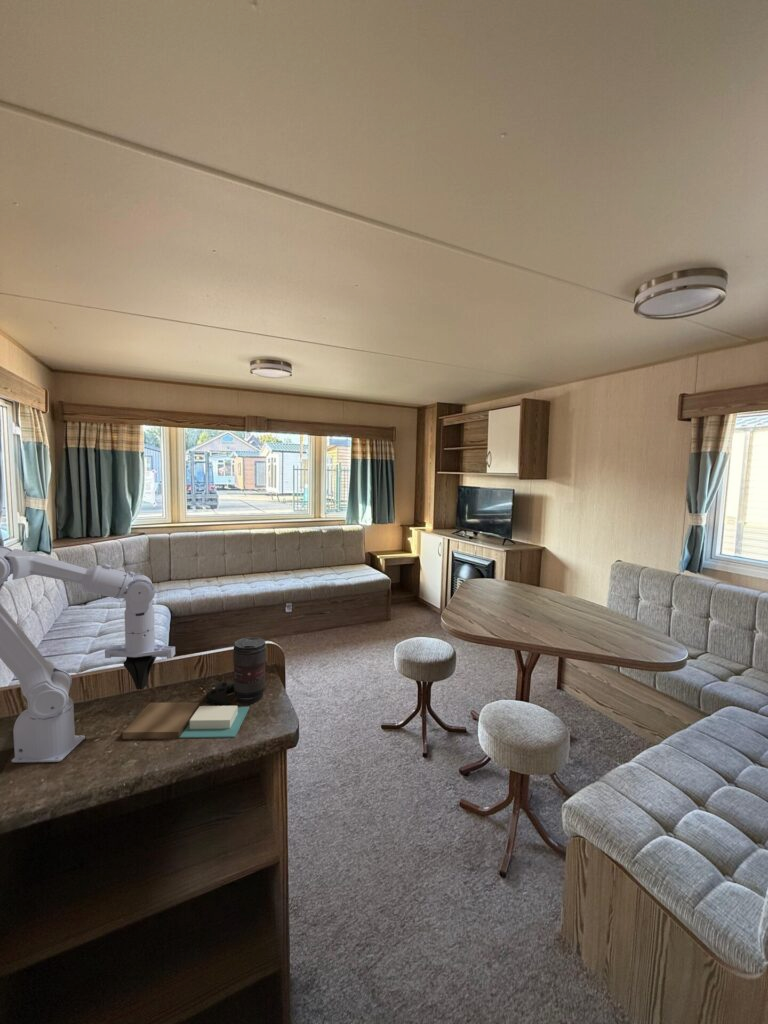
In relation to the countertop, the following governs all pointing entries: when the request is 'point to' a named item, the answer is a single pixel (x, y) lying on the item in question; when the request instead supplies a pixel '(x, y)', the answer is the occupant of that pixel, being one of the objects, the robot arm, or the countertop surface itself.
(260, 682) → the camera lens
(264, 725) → the countertop surface
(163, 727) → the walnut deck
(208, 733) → the teal mat
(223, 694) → the game controller
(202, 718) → the cream tile
